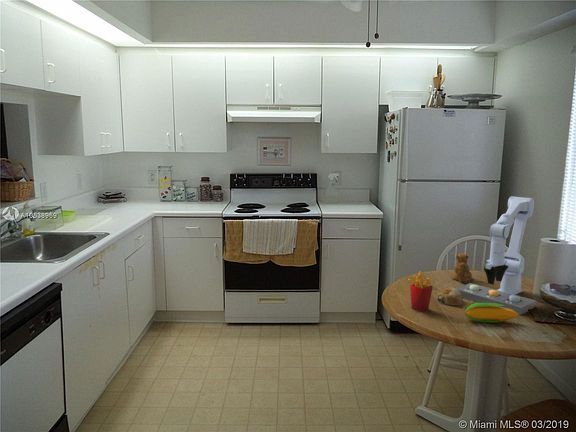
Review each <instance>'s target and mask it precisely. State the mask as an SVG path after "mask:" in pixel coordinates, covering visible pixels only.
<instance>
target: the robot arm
mask: <svg viewBox="0 0 576 432" xmlns="http://www.w3.org/2000/svg"><path fill="white" fill-rule="evenodd" d="M534 208H535V199H534V198H533V197H522V196H521V197H520V196H513V195H511V196H509V198H508V200H507V210H506V212H505V213H503V214H501V216H500V217H499V219H498V220H497V221H496V222H495V223H493V224H491V225H490V228H489V240H490V250H489V259H486V262H487V263H485V266H484V267H483V270H484V273H485V275H486V279H487V284H488V285H492V286H493V285H494V284H495V282H500V287H499V288H498V289H497V290H498V291H502V292H506V293H510V294H513V295H518V294H520V293H522V292H523V290H522V279H523V278H522V275H521V274H523V272H524V269H525V261H526V260H525V258H524V256H523V255H522V254H521V252H520V251H521V249H522V242H523V238H524V234H525V229H526V226H527V221H528V219H530V218H532V216H533V213H534ZM512 225H513V228H512ZM511 228H512V232H511V236H510V240H509V246H508V250H507V251H506V245H507V238H508V237H509V235H510V231H511Z"/></svg>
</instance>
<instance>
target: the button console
mask: <svg viewBox="0 0 576 432" xmlns="http://www.w3.org/2000/svg"><path fill="white" fill-rule="evenodd" d="M470 285H478V286H479V291H477V292H476V291H473V290H469V289H470ZM455 289H456V290H458V291H459V292H460V293H461V296H462V299H465V300H469V301H472V302H473V303H496V304H501V305H505V306H498V307H503V308H508V309H512V310H514V311H515V312H517V313H518V314H519V315H520V316H522V315H524V314H526V313H528V312H529V311H528V309H529V307H530V306H533V305H536V306H537V302H538V301H537V299H536V300H535V299H532V298H528V297H525V296H524V297H523V296H521V295H518V294H515V295H516V296H519V297H520V302H518V303H516V302H512V301H509V296H510V295H513V294H510V293H506V292H502V291H499V296H497V297H494V296H491V295H489V290H497V291H498V289H495V288H491V287H487V286H484V285H483V286H482V285H479V284H476V283H472V282H468V283H467V284H463V285H461V286H459V287H455ZM519 315H518V316H519Z"/></svg>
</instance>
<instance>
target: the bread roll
mask: <svg viewBox="0 0 576 432" xmlns="http://www.w3.org/2000/svg"><path fill="white" fill-rule="evenodd" d="M455 288H456V287H455ZM455 288H454V287H447V288H444V289H442V290H441V291H440V292H439V293H437V301H438V302H439V303H440V304H443V305H446V306H447V305H448V306H460V305H463V298H462V296H461V293H460V292H459V291H458V290H456V289H455Z"/></svg>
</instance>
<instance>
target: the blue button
mask: <svg viewBox="0 0 576 432" xmlns="http://www.w3.org/2000/svg"><path fill="white" fill-rule="evenodd" d="M516 295H517V294H515V295H510V296H509V301H512V302H516V303H518V302H520V297H519V296H520V295H517V296H516Z"/></svg>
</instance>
